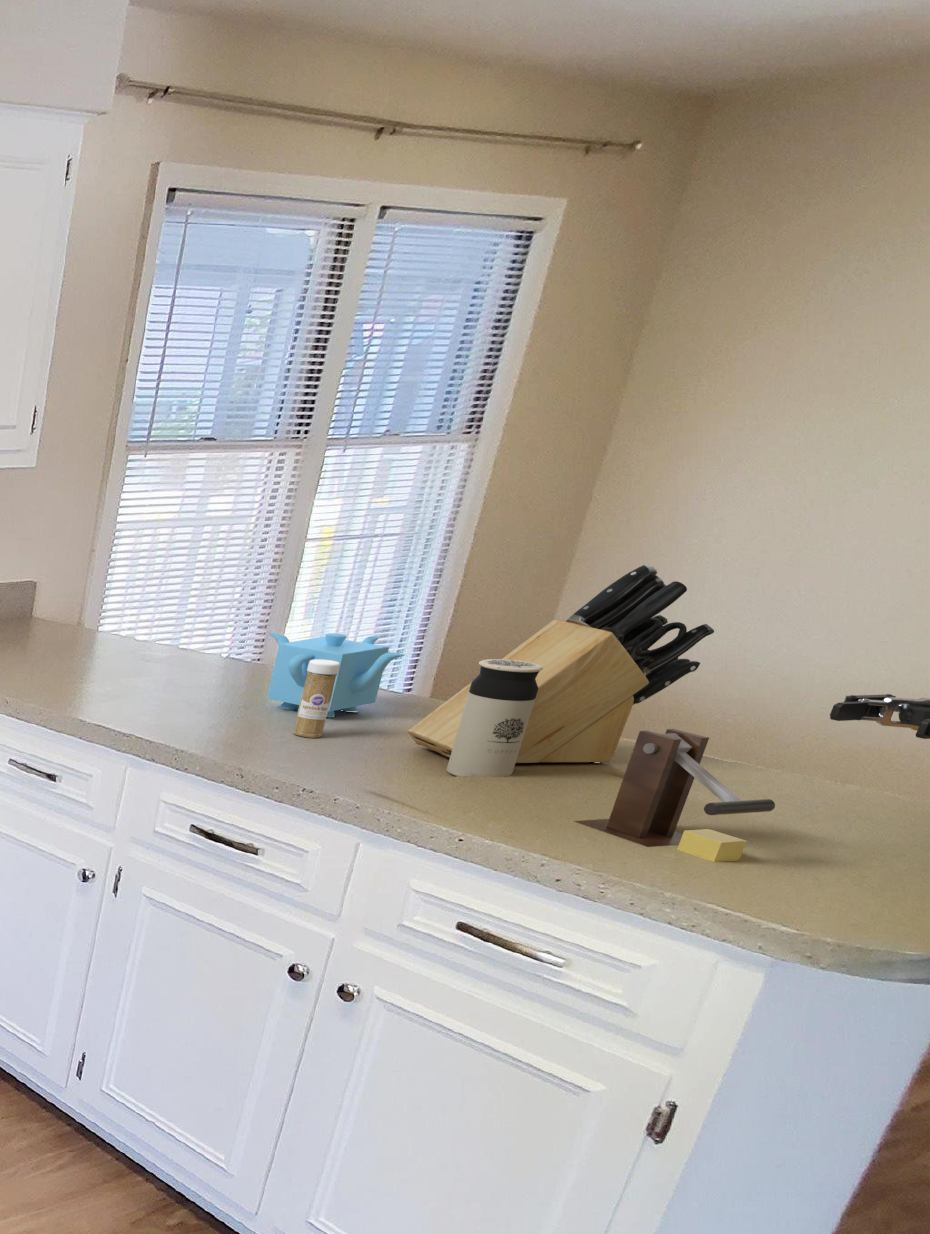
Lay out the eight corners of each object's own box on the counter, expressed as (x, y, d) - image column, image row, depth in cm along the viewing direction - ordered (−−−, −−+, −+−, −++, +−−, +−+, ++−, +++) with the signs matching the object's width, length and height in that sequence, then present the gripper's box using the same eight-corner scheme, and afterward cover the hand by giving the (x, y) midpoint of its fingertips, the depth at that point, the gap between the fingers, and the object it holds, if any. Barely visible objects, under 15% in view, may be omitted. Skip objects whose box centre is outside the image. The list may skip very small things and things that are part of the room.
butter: (757, 871, 139) (769, 843, 138) (708, 874, 139) (719, 846, 137) (701, 852, 146) (711, 825, 144) (653, 855, 145) (663, 828, 144)
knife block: (674, 764, 179) (745, 569, 168) (449, 767, 181) (505, 573, 169) (613, 745, 190) (676, 560, 178) (401, 747, 191) (450, 564, 180)
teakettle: (275, 718, 211) (292, 641, 205) (253, 695, 227) (268, 623, 222) (393, 725, 205) (415, 645, 199) (361, 700, 221) (380, 626, 216)
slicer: (706, 851, 146) (747, 742, 140) (644, 855, 145) (684, 746, 140) (628, 825, 155) (664, 722, 150) (569, 829, 154) (604, 725, 149)
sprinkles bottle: (298, 738, 198) (315, 663, 193) (288, 731, 202) (304, 658, 197) (327, 738, 197) (345, 664, 192) (316, 732, 201) (333, 658, 196)
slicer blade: (765, 816, 139) (781, 802, 137) (707, 820, 138) (723, 806, 136) (681, 745, 148) (695, 731, 146) (626, 748, 147) (640, 734, 145)
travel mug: (438, 766, 181) (469, 657, 175) (498, 770, 178) (532, 660, 172) (456, 781, 174) (489, 667, 168) (518, 785, 172) (554, 670, 165)
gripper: (932, 672, 142) (820, 677, 140) (1089, 697, 129) (967, 704, 127) (907, 729, 145) (797, 735, 143) (1058, 760, 131) (939, 766, 130)
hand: (877, 720), depth 135 cm, fingers open, 8 cm apart
